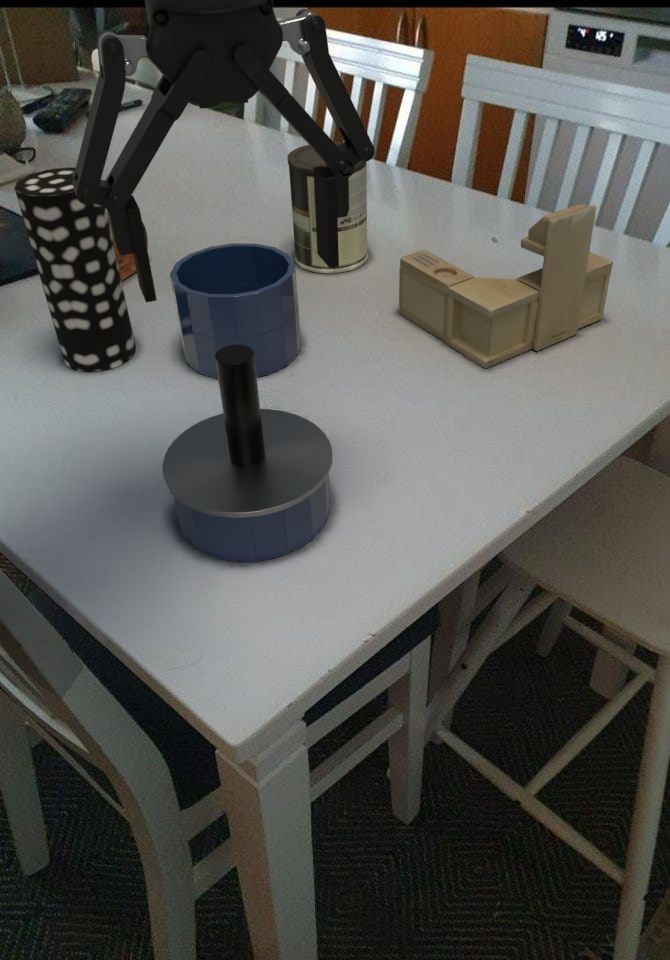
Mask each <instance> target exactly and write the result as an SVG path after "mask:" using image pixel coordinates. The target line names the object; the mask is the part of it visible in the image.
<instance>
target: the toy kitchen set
mask: <svg viewBox="0 0 670 960" xmlns="http://www.w3.org/2000/svg"><path fill="white" fill-rule="evenodd" d="M596 211H597V206H596V205H594V204H591V205H587V204H585V203H578V204H575V205H572V206H569V207H567V208H563V209H561V210H558V211H555V212H552V213H549V214H546V215H543V216H542V217H541V218H540V219H539V220H538V221H536V222H535V223H534V224H532V226H531V227H530V228H529V229H528V232H527V233H528V234H527V236H525V237H522V238H521V239H520V248H522V249H524V250H527V251H529V252H532V253H534V254H536V255H539V256H542V257H543V263H542V268H540V269H539V268H538V269H537V270H534V271H532V272H529V273H527V274H524V275H521V276H519V277H516V279H512V278H498V277H497V278H495V277H475V275H472V274H470V273H469V272H467V271H465V270H463V269H461V268H459V267H457V266H456V265H454V264H452V263H450V262H448V261H446V260H445V259H443V258H441V257H439V256H437V255H435V254H434V253H432V252H430V251H428V250H426V249H422V250H419V251H416V252H413V253H410V254H407V255H404V256H401V257H400V258H399V266H400V267H399V270H398V271H399V279H398V280H399V281H398V282H399V283H398V291H399V292H398V299H399V300H398V302H399V303H398V306H399V308H398V310H399V311H398V312H399V314H400V315H402V316H403V317H405V318H406V319H408V320H409V321H410V322H412V323H414V324H416V325H417V326H418V327H420V328H422V329H424V330H425V331H426V332H428V333H429V334H431V335H433V336H434V337H436V338H438V339H439V340H440V341H442V342H444V343H445V344H446V345H447V346H448V347H450V348H451V349H453V350H455V351H457V352H458V353H460V354H461V355H463V356H464V357H465V358H468V360H471V361H472V362H474V363H476V364H477V365H478V366H480V367H482V368H483V369H489V368H491V367H494V366H495V365H497V364H501V363H503V362H504V361H507V360H509V359H511V358H515V357H516V356H519V355H521V354H523V353H524V354H525V353H526V352H528V351H530V350H534V351H535V352H539V351H541V350H543V349H545V348H548V347H550V346H552V345H554V344H557V343H559V342H561V341H564V340H566V339H569V338H571V337H573V336H576V335H577V333H578V330H579V329H581V328H583V327H586V326H589V325H590V324H593V323H595V322H599V321H601V320H602V319H603V318H604V311H605V307H606V301H607V296H608V290H609V285H610V280H611V274H612V269H613V264H614V261H613V260H611V259H608V258H606V257H604V256H601V255H598V254H597V253H595V252H592V251H591V244H592V239H593V238H592V237H593V231H594V226H595V225H594V224H595V218H596Z"/></svg>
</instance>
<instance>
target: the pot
mask: <svg viewBox="0 0 670 960" xmlns="http://www.w3.org/2000/svg"><path fill="white" fill-rule="evenodd" d="M296 268H297V267H296V262H295V260H294V259H293V258H292V256H291V254H289V253H287V252H285V251H283V250H281V249H279V248H277V247H275V246H270V245H265V244H260V243H244V242H243V243H240V242H239V243H233V242H232V243H227V244H226V243H225V244H220V245H213V246H208V247H206V248H202V249H200V250H197V251H194V252H192V253H188V254H187V255H185V256H184V257H182V258H181V259H180V260H178V261H176V262H175V263H174V265H173V267H172V269H171V271H170V272H169V276H170V282H171V289H172V295H173V300H174V305H175V311H176V316H177V322H178V329H179V335H180V339H181V344H182V350H183V355H184V358H185V361H186V363H187V364H188V366H189V367H190V368H191V369H192V370H194V371H195V372H197V373H199V374H201V375H203V376H206V377H209V378H213V379H218V374H217V367H216V361H215V354H216V352H217V351H218V350H220V349H221V348H223V347H226V346H229V345H245V346H248V347H250V348H251V349H252V350H253V352H254V359H255V367H256V376H257V378H261V377H265V376H268V375H271V374H273V373H277V372H278V371H280V370H282V369H284V368H285V367H287V366H288V365H290V364H291V363H292V362H293V361H294V360H295V359H296V358H297V357H298V354H299V352H300V349H301V342H302V340H301V339H302V338H301V325H300V309H299V295H298V284H297V283H298V282H297V281H298V280H297V269H296Z"/></svg>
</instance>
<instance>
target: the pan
mask: <svg viewBox="0 0 670 960" xmlns="http://www.w3.org/2000/svg"><path fill="white" fill-rule="evenodd" d="M173 499H174V504H175V509H176V513H177V518H178V521H179V525H180V526H179V527H180V529H181V533H182V534H183V535H184V537H185V538H186V539H187V540H188V542H189V543H190V544H191V545H192V546H193V547H195V548H196V549H197V550H199V551H201V552H203V553H204V554H206V555H209V556H211V557H214V558H216V559H219V560H220V559H221V560H225V561H230V562H240V563H244V562H245V563H248V562H249V563H252V562H263V561H267V560H272V559H277V558H280V557H283V556H286V555H288V554H290V553H293V552H294V551H297V550H299V549H300V548H302V547H303V546H305V545H306V544H308V543H309V542H310V541H311V540H313V539H314V538H315V537H316V536H317V535H318V534H319V532H321V530H322V529H323V527H324V525H325V524H326V521H327V520H328V516H329V512H330V501H331V490H330V473H329V474H328V477H327V478H326V480H325V481H324V483H323V484H322V485H321V486H320V487H319V488H318V489H317V490H316V491H315V492H314V493H313V494H311V495H310V496H309V497H307V498H306V499H304V500H303V501H301V502H299V503H297V504H295V505H293V506H291V507H289V508H286V509H284V510H281V511H278V512H274V513H271V514H267V515H261V516H255V517H245V518H231V517H220V516H214V515H209V514H206V513H202V512H199V511H197V510H194V509H192V508H190V507H188V506H186V505H185V504H183V503H182V502H180V501H179V500H178V499H176V498H175V497H174V496H173Z"/></svg>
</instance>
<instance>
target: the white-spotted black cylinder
mask: <svg viewBox="0 0 670 960" xmlns="http://www.w3.org/2000/svg"><path fill="white" fill-rule="evenodd" d="M75 169H76V167H71V166H70V167H57V168H50V169H45V170H40V171H36V172H33V173H31V174H27V175H26V176H24V177H22V178H20V179H19V180H17V181H16V182H15V184H14V185H13V188H14V191H15V195H16V198H17V202H18V205H19V208H20V212H21V216H22V219H23V224H24V225H25V229H26V234H27V237H28V241H29V245H30V247H31V250H32V253H33V258H34V262H35V264H36V268H37V272H38V275H39V278H40V282H41V285H42V289H43V293H44V297H45V300H46V303H47V307H48V310H49V314H50V317H51V321H52V324H53V327H54V331H55V334H56V337H57V342H58V345H59V348H60V351H61V355H62V358H63V362H64V364H65V365H66V366H67V367H68V368H70V369H72V370H74V371H78V372H88V373H91V372H102V371H107V370H112V369H114V368H116V367H119V366H121V365H123V364H125V363H127V362H128V361H130V359H131V358H132V357H133V356H134V355H135V354H136V352H137V351H136V350H137V347H136V342H135V337H134V333H133V327H132V323H131V319H130V313H129V309H128V305H127V300H126V295H125V292H124V291H125V290H124V286H123V281H122V282H121V277H120V272H119V268H118V263H117V259H116V254H115V250H114V245H113V240H112V236H111V231H110V227H109V222H108V218H107V213H106V212H107V209H106V208H105V207H103V206H101V205H97V204H89V205H84V204H82V203H80V202H79V201H78V199H77V196H76V194H75V191H74V187H73V184H72V181H73V176H74V173H75Z"/></svg>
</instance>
